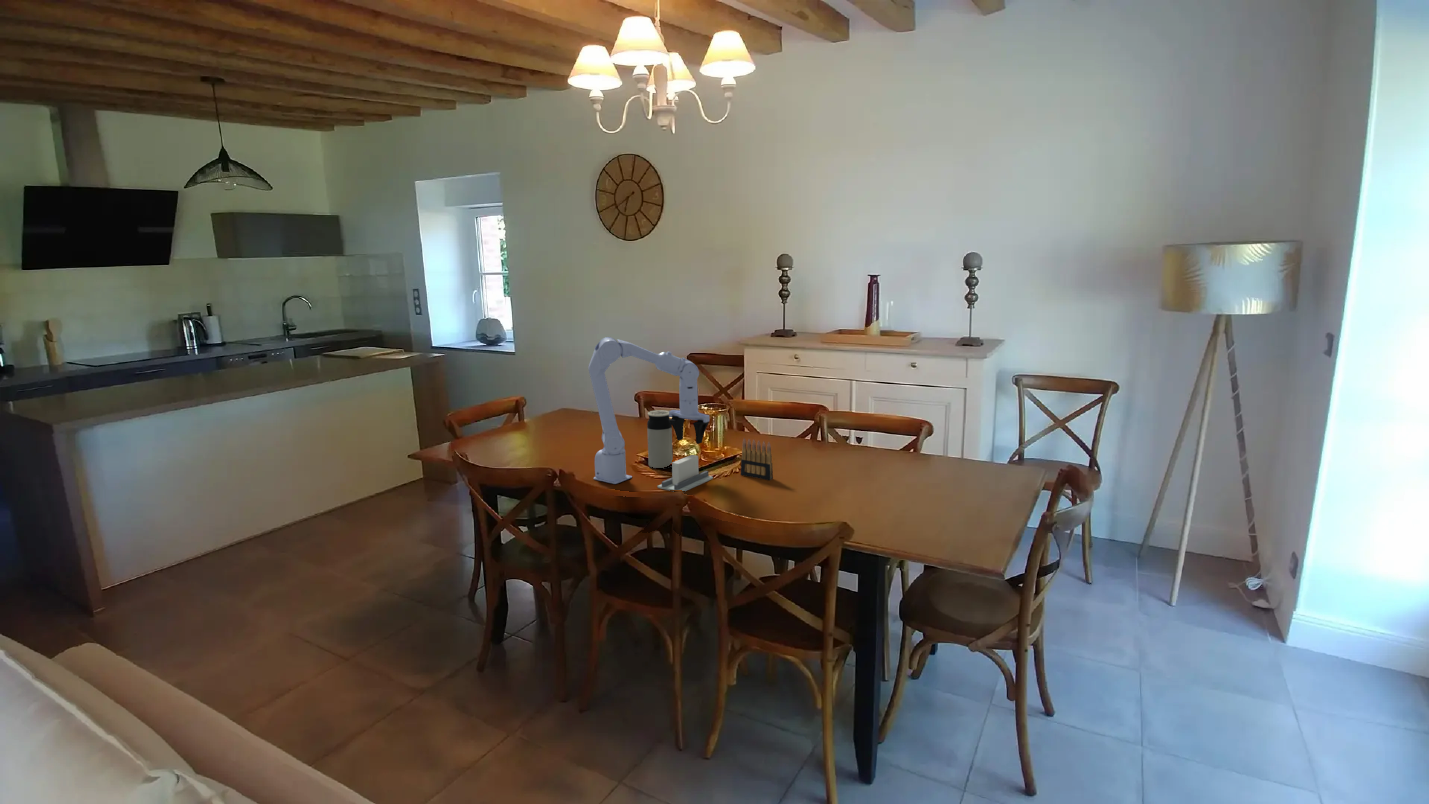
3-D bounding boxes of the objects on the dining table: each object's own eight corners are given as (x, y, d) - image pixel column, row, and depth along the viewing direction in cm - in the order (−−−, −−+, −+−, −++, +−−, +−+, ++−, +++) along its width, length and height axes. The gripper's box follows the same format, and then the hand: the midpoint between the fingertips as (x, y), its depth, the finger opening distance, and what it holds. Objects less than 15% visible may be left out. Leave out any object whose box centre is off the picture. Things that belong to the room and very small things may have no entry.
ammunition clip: (740, 474, 230) (740, 438, 228) (743, 473, 232) (743, 436, 229) (770, 480, 224) (770, 442, 222) (773, 478, 226) (773, 441, 223)
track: (657, 487, 219) (657, 481, 219) (689, 473, 232) (689, 467, 231) (681, 493, 214) (681, 486, 214) (712, 478, 227) (712, 472, 226)
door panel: (672, 484, 220) (671, 462, 218) (692, 476, 228) (691, 454, 226) (678, 486, 218) (678, 463, 217) (698, 477, 226) (698, 455, 225)
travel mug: (671, 469, 237) (670, 415, 233) (647, 469, 237) (645, 415, 234) (673, 461, 245) (672, 409, 241) (650, 462, 245) (648, 410, 241)
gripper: (714, 399, 227) (715, 441, 230) (678, 394, 235) (679, 435, 238) (701, 403, 221) (702, 446, 224) (664, 398, 230) (665, 440, 232)
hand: (689, 441), depth 231 cm, fingers open, 7 cm apart
